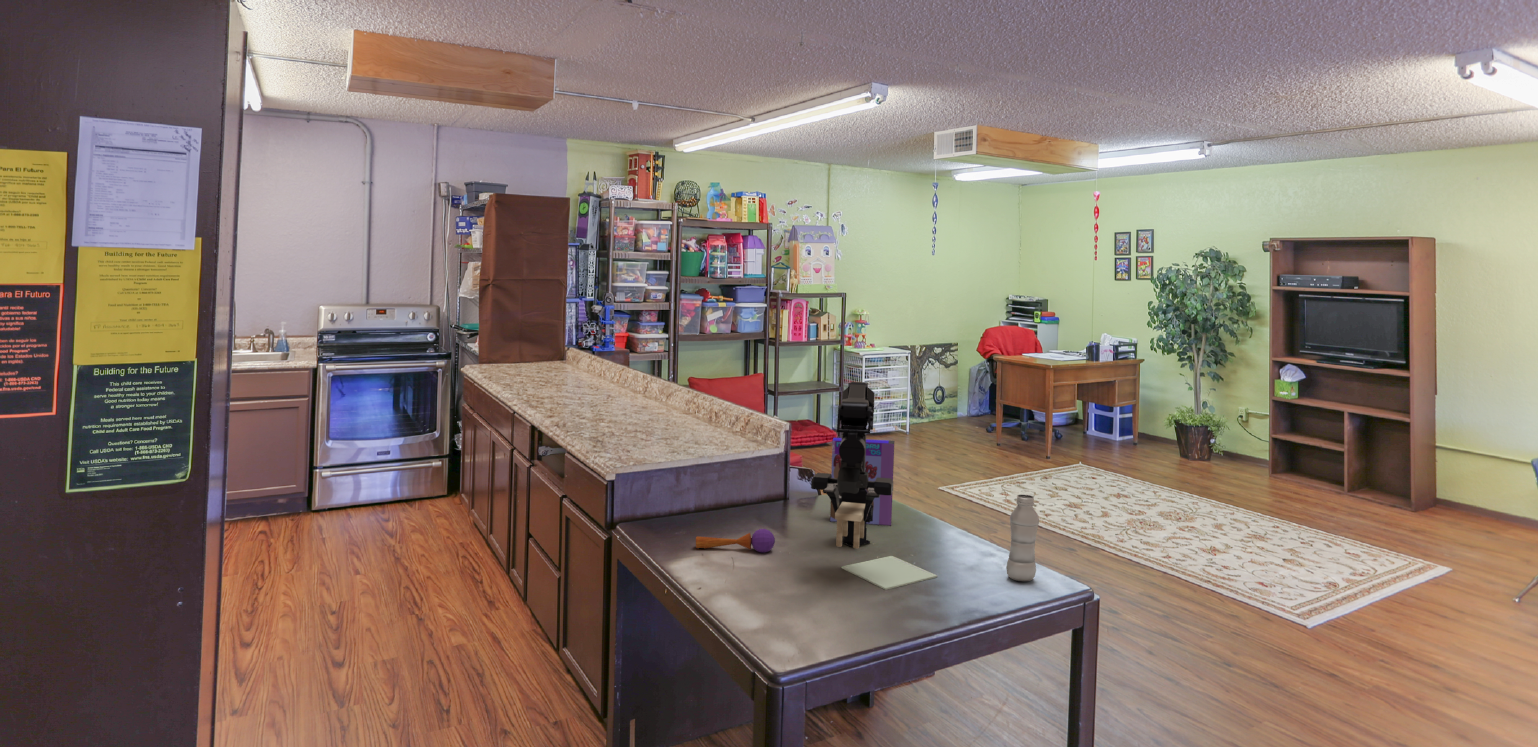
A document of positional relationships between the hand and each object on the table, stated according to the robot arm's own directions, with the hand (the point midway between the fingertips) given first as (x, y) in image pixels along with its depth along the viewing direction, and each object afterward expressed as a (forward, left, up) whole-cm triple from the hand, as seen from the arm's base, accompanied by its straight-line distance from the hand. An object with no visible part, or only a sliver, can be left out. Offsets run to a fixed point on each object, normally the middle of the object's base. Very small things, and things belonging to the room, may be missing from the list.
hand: (851, 519), depth 189 cm
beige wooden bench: (0, 0, -5) cm, 5 cm away
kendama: (-27, -15, -13) cm, 34 cm away
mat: (+5, +8, -13) cm, 16 cm away
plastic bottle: (+24, +32, -13) cm, 42 cm away
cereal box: (-31, +29, -13) cm, 45 cm away
